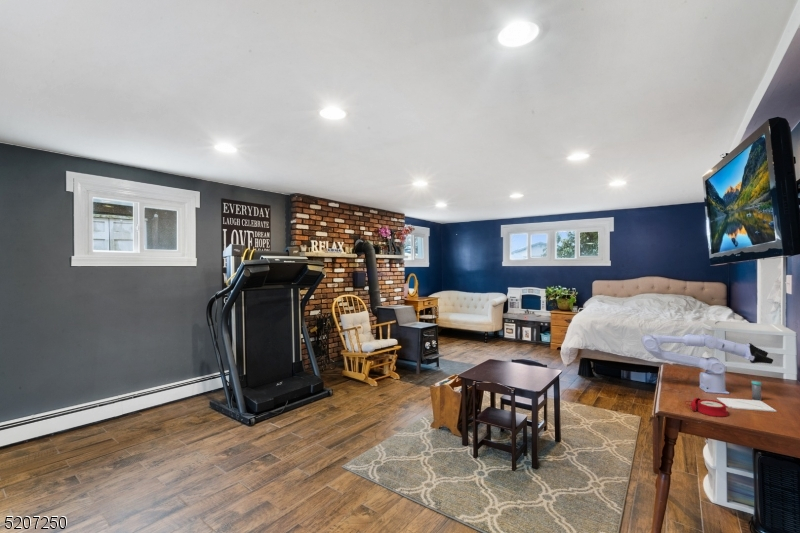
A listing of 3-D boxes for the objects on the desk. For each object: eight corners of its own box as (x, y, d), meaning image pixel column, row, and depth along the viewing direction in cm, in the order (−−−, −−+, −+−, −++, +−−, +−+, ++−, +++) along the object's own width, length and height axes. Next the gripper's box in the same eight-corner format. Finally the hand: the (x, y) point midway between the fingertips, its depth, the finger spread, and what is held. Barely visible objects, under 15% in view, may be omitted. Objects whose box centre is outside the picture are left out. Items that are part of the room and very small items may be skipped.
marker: (754, 400, 170) (753, 382, 170) (750, 397, 173) (749, 380, 173) (763, 400, 169) (762, 383, 169) (759, 398, 172) (758, 381, 172)
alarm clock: (728, 411, 151) (684, 394, 162) (724, 425, 152) (680, 407, 163) (733, 404, 158) (690, 388, 169) (729, 418, 159) (687, 401, 170)
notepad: (729, 408, 162) (729, 406, 162) (716, 398, 174) (716, 397, 174) (776, 411, 157) (776, 410, 157) (760, 401, 168) (760, 400, 168)
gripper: (739, 346, 173) (778, 357, 167) (732, 334, 185) (768, 344, 179) (733, 359, 175) (771, 370, 169) (727, 347, 187) (762, 357, 181)
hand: (769, 358), depth 174 cm, fingers open, 7 cm apart
